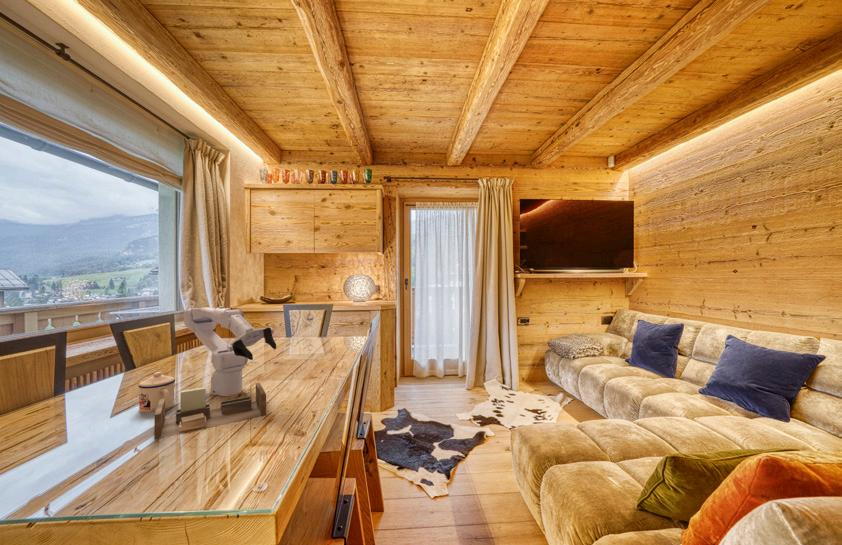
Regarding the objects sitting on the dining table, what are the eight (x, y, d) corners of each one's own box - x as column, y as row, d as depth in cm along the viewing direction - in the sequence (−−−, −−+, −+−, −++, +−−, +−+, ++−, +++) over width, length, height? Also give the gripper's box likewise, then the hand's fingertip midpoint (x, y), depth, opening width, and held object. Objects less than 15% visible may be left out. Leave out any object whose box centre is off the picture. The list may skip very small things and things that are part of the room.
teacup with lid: (133, 411, 103) (133, 374, 103) (167, 402, 111) (167, 367, 111) (149, 420, 96) (149, 380, 97) (184, 409, 104) (184, 372, 104)
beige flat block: (180, 418, 95) (180, 391, 95) (205, 413, 99) (205, 387, 99) (180, 420, 94) (180, 392, 94) (205, 415, 97) (205, 388, 97)
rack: (159, 422, 95) (160, 398, 95) (259, 403, 109) (259, 382, 109) (154, 443, 83) (154, 415, 83) (266, 418, 98) (266, 394, 98)
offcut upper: (181, 422, 90) (181, 417, 90) (202, 417, 93) (202, 412, 93) (182, 426, 88) (182, 422, 88) (204, 421, 91) (204, 416, 91)
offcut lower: (179, 426, 90) (179, 421, 90) (205, 420, 94) (205, 416, 94) (179, 431, 87) (179, 427, 87) (206, 426, 90) (206, 421, 90)
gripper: (219, 330, 105) (238, 352, 98) (263, 313, 116) (284, 332, 109) (222, 347, 109) (241, 370, 102) (265, 329, 119) (285, 348, 112)
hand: (263, 351), depth 105 cm, fingers open, 7 cm apart
